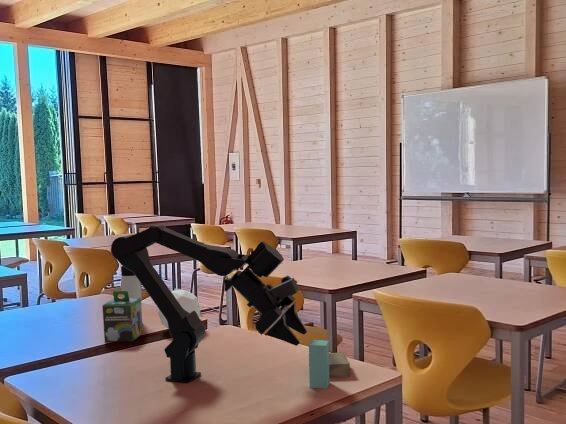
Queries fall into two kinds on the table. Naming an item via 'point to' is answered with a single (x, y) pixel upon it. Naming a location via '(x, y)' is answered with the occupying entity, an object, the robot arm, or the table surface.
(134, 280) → the travel mug
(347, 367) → the base brick
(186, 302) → the geodesic sphere
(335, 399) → the table surface
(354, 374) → the table surface
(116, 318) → the chalk box
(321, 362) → the pillar brick
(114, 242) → the robot arm
